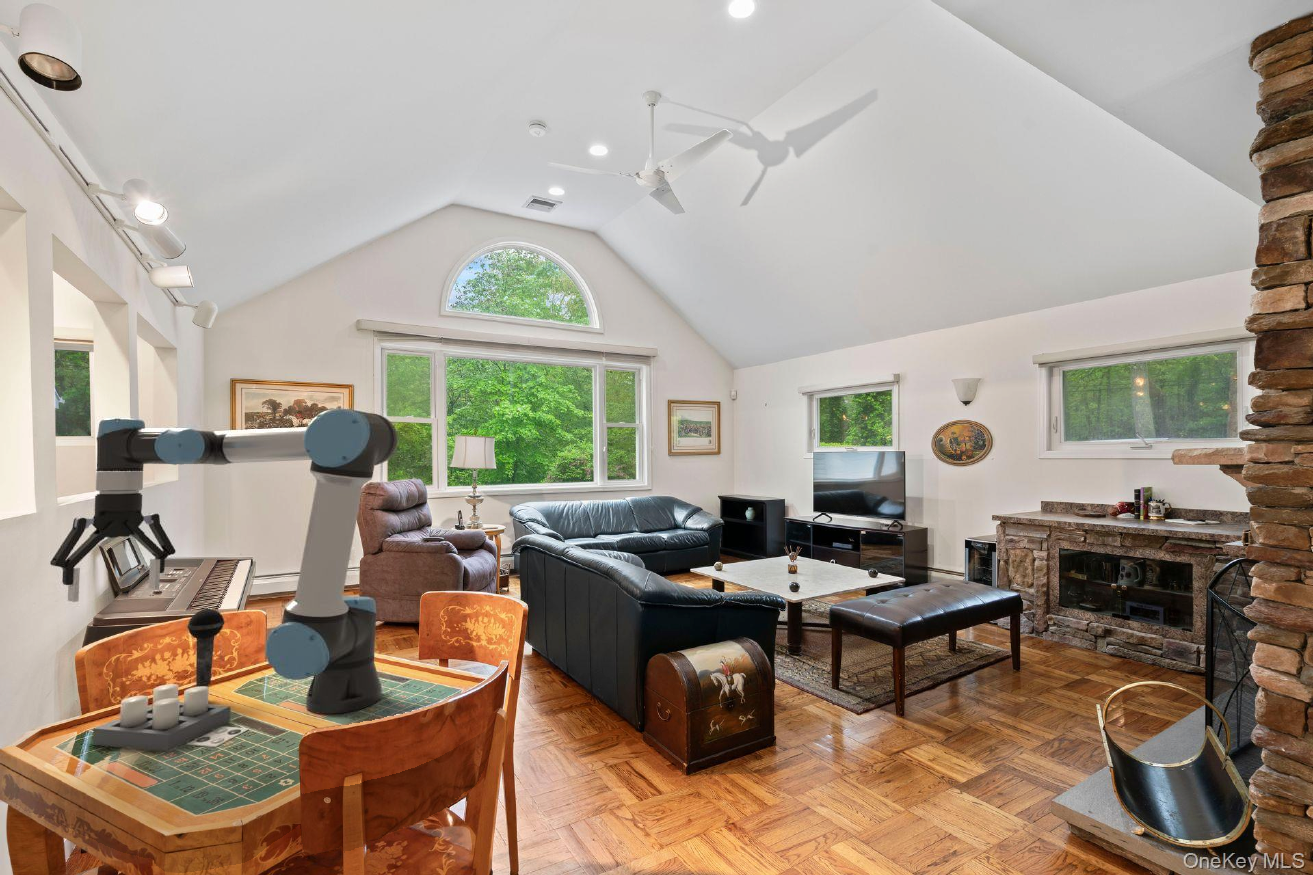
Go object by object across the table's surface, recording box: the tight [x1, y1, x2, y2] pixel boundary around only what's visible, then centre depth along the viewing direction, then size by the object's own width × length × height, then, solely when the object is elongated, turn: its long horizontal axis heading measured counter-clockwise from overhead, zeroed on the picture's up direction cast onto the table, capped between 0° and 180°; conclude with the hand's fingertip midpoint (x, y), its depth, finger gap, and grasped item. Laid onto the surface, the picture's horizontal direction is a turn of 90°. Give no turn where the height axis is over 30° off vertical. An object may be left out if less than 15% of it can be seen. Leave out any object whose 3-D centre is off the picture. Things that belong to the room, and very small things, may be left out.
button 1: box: [119, 695, 149, 728], centre depth 121 cm, size 4×4×4 cm
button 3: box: [152, 697, 181, 730], centre depth 120 cm, size 4×4×4 cm
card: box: [186, 725, 250, 748], centre depth 122 cm, size 6×8×1 cm
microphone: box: [186, 608, 226, 687], centre depth 141 cm, size 7×7×20 cm
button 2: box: [152, 683, 179, 713], centre depth 127 cm, size 4×4×4 cm
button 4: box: [183, 686, 210, 717], centre depth 126 cm, size 4×4×4 cm
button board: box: [92, 701, 232, 752], centre depth 123 cm, size 16×14×3 cm
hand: (115, 594), depth 131 cm, fingers open, 13 cm apart
